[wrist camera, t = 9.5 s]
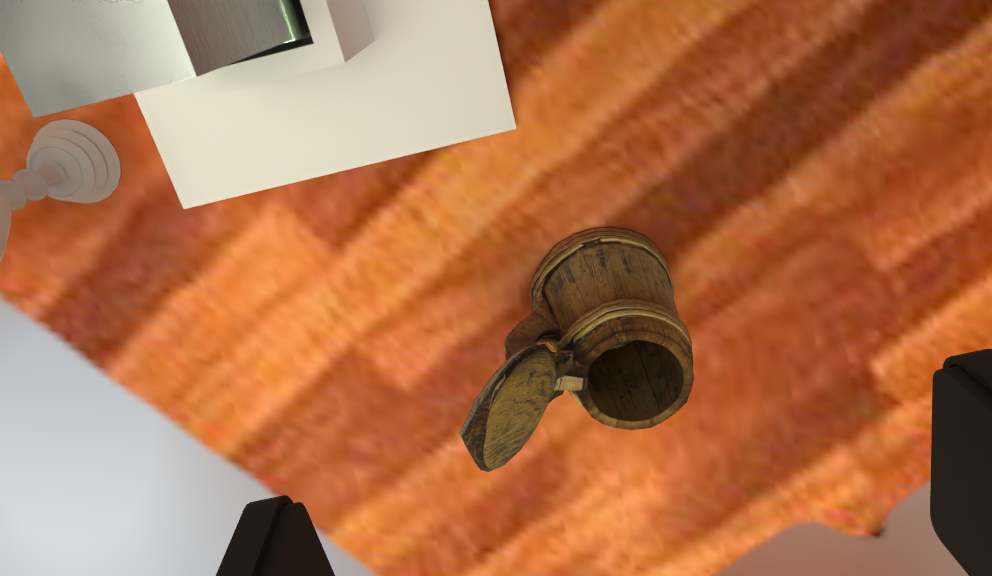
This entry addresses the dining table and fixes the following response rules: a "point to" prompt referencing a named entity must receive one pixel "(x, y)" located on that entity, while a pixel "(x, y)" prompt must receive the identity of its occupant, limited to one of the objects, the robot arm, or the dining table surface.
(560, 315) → the wooden mug
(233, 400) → the dining table surface
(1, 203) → the chalice
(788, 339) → the dining table surface
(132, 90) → the column
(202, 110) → the stand
